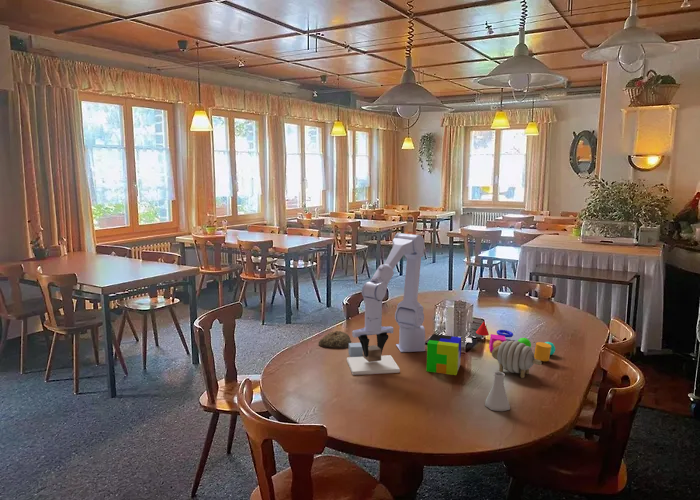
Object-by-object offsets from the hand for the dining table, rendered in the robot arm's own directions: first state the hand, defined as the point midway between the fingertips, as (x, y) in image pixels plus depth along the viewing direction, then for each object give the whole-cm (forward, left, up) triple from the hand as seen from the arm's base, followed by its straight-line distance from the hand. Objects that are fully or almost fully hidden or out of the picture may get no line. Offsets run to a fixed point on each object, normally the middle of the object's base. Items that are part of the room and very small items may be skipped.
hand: (372, 354), depth 181 cm
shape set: (-53, -10, -4) cm, 54 cm away
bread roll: (+9, -26, -5) cm, 28 cm away
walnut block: (0, 0, -2) cm, 2 cm away
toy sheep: (-46, +12, -4) cm, 48 cm away
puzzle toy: (-24, +4, -4) cm, 25 cm away
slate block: (+4, -12, -4) cm, 13 cm away
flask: (-30, +34, -4) cm, 46 cm away
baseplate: (0, 0, -4) cm, 4 cm away
